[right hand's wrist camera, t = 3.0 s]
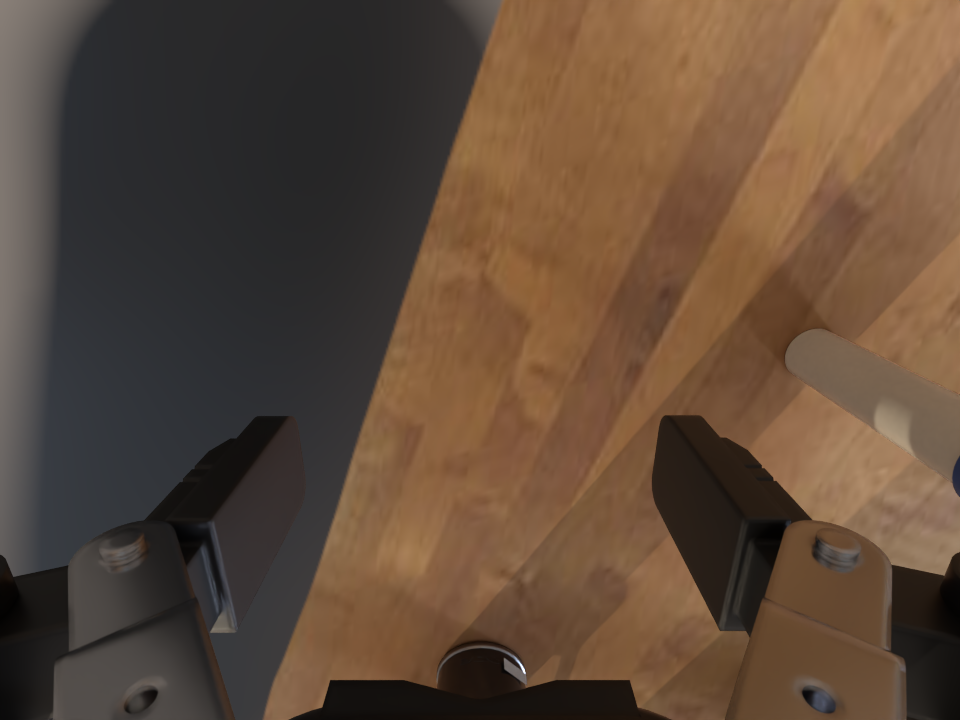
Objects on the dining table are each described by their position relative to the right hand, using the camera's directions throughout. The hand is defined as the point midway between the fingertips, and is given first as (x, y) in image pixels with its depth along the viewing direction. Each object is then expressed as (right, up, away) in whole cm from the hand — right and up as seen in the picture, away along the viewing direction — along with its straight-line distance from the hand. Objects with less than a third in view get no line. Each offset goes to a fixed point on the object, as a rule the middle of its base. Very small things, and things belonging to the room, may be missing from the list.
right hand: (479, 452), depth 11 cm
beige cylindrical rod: (+27, +3, +30) cm, 41 cm away
